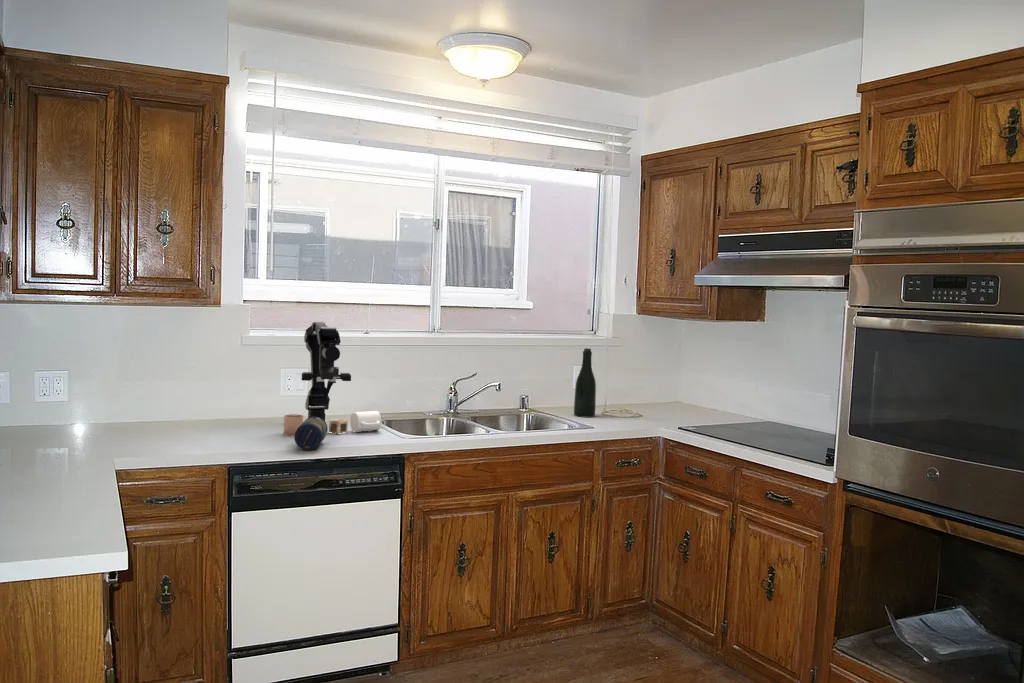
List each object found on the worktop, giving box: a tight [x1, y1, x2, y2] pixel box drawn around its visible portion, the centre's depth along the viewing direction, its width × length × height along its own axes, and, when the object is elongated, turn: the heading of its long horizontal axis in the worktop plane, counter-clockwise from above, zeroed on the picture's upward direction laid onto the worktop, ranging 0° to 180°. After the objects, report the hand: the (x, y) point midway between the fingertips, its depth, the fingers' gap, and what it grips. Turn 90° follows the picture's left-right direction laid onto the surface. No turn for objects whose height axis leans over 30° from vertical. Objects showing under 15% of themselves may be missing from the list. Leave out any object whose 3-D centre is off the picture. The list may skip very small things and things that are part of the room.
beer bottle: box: [573, 348, 597, 417], centre depth 371 cm, size 10×10×33 cm
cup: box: [283, 413, 304, 436], centre depth 293 cm, size 7×7×7 cm
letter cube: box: [328, 418, 349, 434], centre depth 299 cm, size 5×5×5 cm
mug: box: [349, 410, 382, 433], centre depth 303 cm, size 12×10×8 cm
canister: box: [294, 417, 329, 451], centre depth 270 cm, size 10×10×18 cm
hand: (325, 398), depth 300 cm, fingers closed
